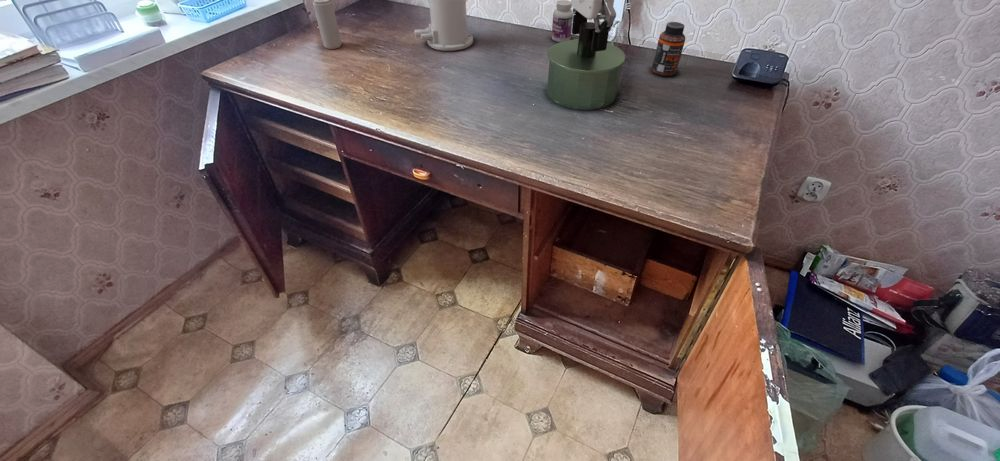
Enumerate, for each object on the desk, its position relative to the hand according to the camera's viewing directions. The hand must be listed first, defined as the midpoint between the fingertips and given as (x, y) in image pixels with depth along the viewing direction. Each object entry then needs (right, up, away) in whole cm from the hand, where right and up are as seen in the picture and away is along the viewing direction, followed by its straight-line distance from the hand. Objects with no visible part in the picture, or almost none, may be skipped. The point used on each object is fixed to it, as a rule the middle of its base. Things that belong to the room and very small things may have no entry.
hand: (588, 41), depth 99 cm
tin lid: (0, -2, +2) cm, 3 cm away
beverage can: (-64, +10, +28) cm, 71 cm away
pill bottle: (-2, +13, +32) cm, 34 cm away
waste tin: (0, -8, +8) cm, 12 cm away
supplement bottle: (+22, -1, +16) cm, 27 cm away
